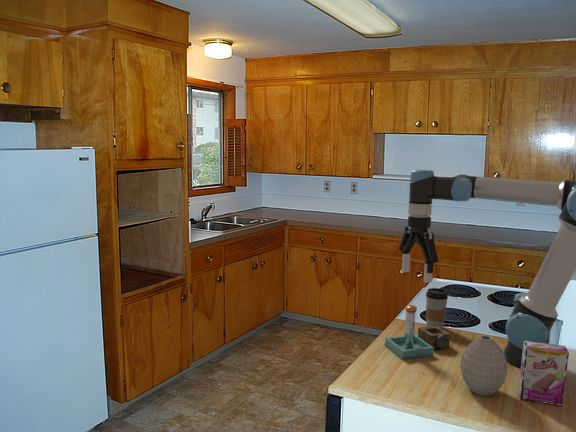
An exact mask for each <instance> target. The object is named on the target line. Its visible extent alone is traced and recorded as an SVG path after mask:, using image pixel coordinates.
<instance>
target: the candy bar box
mask: <svg viewBox="0 0 576 432" xmlns="http://www.w3.org/2000/svg"><path fill="white" fill-rule="evenodd" d="M569 353H570V352H569V349H568V348H567V346H566V345H560V344H553V343H549V344H546V343H538V342H531V341H524V344H523V353H522V361H521V368H520V370H519V372H520V373H519V378H518V388H517V392H518V395H519V399H520V400H521V399H522V401H527V400H530V401H529V402H534V401H539V402H538V403H540V402H547V403H553V404H562V405H563V401H564V393H565V388H566V387H565V386H566V377H567V371H568V369H567V368H568V361H569V355H570V354H569ZM547 403H546V404H547ZM553 404H552V405H553Z"/></svg>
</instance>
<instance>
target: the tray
mask: <svg viewBox="0 0 576 432" xmlns="http://www.w3.org/2000/svg"><path fill="white" fill-rule="evenodd" d="M404 339H405V335H399V336H398V335H397V336H390V337H385V339H384V340H385V341H384V342H385V343H384V346H385V348H387V349H388V350H389V351H391V352H392V353H393V354H394V355H396V356H397V357H398V358H400V359H401V361H402V360H404V361H405V360H411V359H413V360H414V359H420V358H427V357H434V351H435V349H434V347H432V346H431V345H429V344H428V343H426V342H425V341H423V340H422V339H421V338H419V337H418V335H416V334H414V346H413V349H407V350H405V349H404Z"/></svg>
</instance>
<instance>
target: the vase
mask: <svg viewBox="0 0 576 432" xmlns="http://www.w3.org/2000/svg"><path fill="white" fill-rule="evenodd" d="M460 372H461V376H462V379H463V381H464V383H465V384H466V386H467V387H468V389H469V390H470V391H471V392H472V393H474V394H476V395H480V396H482V397H484V396H491V395H493V394H495V393H496V392H498V391H499V389H501V387H503V385H504V384H505V381H506V379H507V375H508V362H507V361H506V358H505V355H504V350H503V349H502V348H501V347H500V345H499V344H498V343H497V342H496V341H495V340H494V337H492V336H490V335H486V334H481V335H479V336H478V338H476V339H474V340H473V341H472V342H471V343H469V344H468V345H467V347H466V348H465V350H463V353H462V355H461V359H460Z"/></svg>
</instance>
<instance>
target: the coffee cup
mask: <svg viewBox="0 0 576 432" xmlns="http://www.w3.org/2000/svg"><path fill="white" fill-rule="evenodd" d="M425 296H426V299H425V300H426V302H425V303H426V304H425V312H426V313H425V316H426V317H425V318H426V325H425V326H426V327H431V326H438V327H440V328H442V329H444V323H445V319H446V312H447V311H446V310H447V301H448V299H449V295H448V291H447V290H445V289H443V288H439V287H438V288H437V287H432V288H431V287H430V288H427V291H426V293H425Z"/></svg>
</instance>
